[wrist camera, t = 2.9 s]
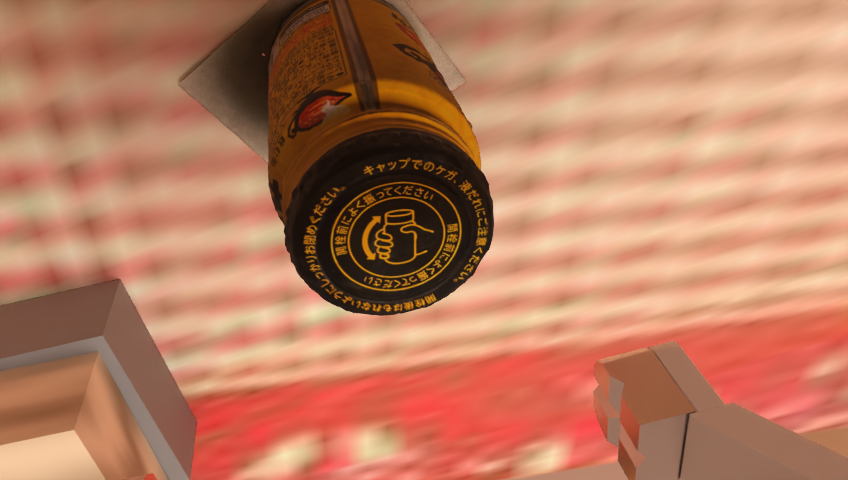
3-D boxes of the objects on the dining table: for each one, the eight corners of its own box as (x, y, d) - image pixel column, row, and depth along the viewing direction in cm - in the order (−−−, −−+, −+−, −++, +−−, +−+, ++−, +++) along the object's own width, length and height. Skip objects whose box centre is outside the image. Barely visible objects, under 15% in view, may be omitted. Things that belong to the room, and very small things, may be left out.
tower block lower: (-110, 326, 28) (-159, 395, 25) (121, 274, 29) (102, 335, 26) (7, 462, 34) (-20, 532, 31) (197, 416, 35) (190, 480, 32)
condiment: (465, 79, 27) (576, 245, 17) (311, 201, 29) (331, 414, 19) (349, -73, 23) (407, 31, 13) (178, 81, 24) (118, 272, 15)
